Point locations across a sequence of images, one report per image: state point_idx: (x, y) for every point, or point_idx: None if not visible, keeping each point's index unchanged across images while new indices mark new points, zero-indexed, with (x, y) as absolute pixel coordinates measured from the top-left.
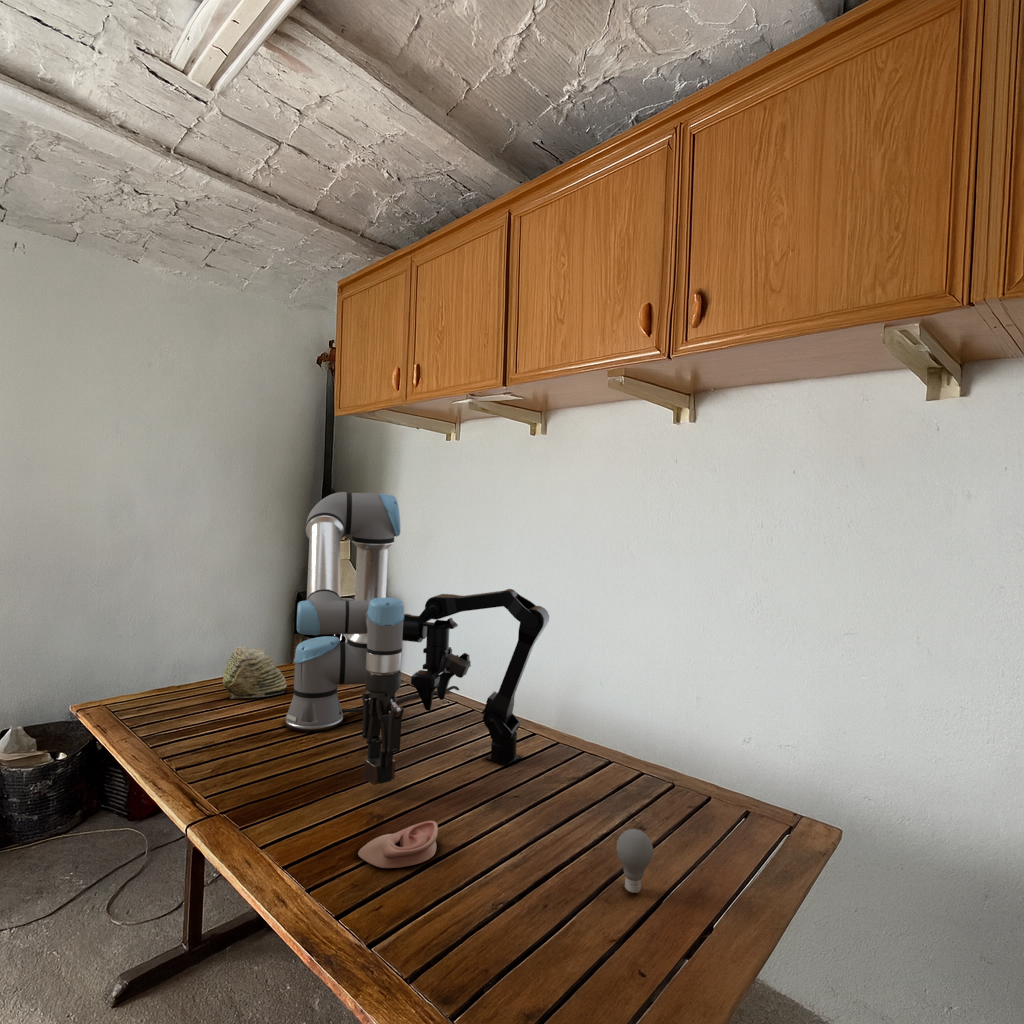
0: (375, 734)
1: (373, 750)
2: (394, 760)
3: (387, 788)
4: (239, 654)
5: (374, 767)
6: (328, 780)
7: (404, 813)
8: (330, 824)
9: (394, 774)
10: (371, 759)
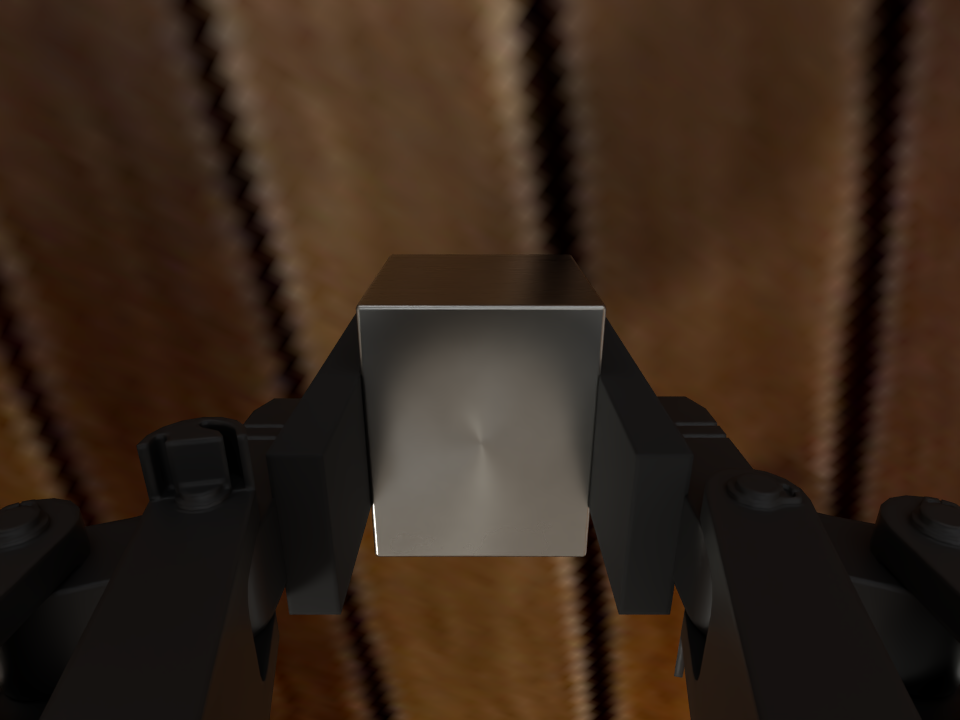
0: (252, 669)
1: (350, 517)
2: (604, 318)
3: (470, 240)
4: None
5: (584, 549)
6: (129, 498)
7: (869, 345)
8: (649, 687)
9: (576, 266)
10: (410, 506)
